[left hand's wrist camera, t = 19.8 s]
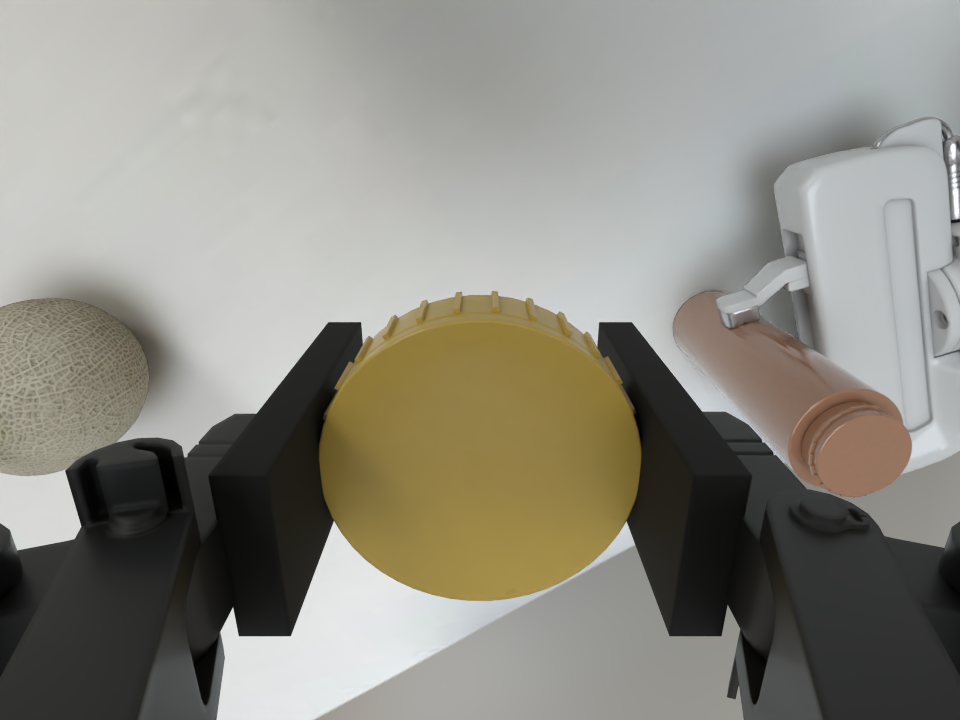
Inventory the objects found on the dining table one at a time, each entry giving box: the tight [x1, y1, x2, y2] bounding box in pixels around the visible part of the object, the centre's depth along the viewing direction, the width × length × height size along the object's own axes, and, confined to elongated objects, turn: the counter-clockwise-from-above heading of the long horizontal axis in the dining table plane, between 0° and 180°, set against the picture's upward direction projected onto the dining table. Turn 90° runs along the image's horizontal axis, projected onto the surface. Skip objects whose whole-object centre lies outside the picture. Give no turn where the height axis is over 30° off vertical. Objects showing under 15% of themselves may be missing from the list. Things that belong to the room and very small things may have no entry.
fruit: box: [0, 298, 149, 476], centre depth 35 cm, size 10×12×15 cm
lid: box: [319, 291, 642, 601], centre depth 11 cm, size 6×6×2 cm
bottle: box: [673, 291, 912, 497], centre depth 33 cm, size 5×5×18 cm
